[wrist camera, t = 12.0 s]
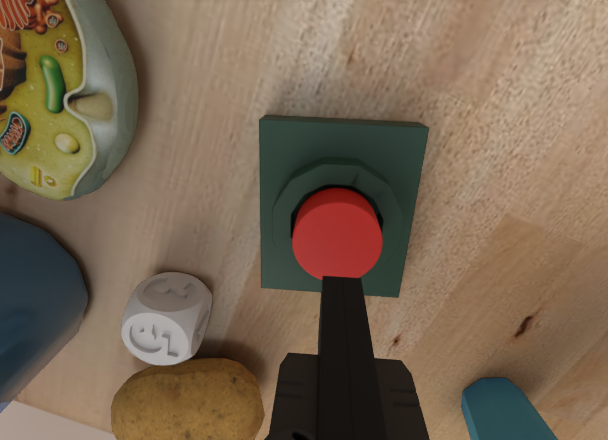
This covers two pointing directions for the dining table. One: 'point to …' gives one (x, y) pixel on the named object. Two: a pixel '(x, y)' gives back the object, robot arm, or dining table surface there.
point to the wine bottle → (34, 303)
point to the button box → (337, 174)
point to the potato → (189, 402)
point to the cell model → (64, 96)
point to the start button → (337, 234)
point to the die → (166, 318)
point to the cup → (501, 412)
